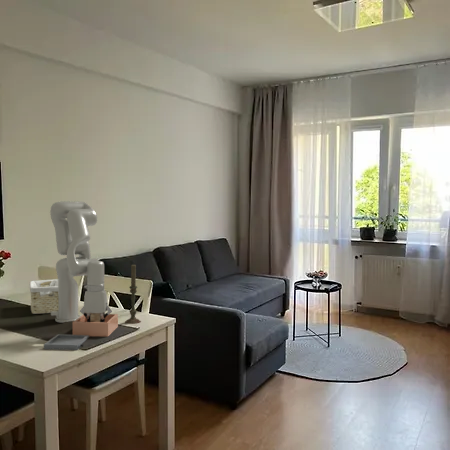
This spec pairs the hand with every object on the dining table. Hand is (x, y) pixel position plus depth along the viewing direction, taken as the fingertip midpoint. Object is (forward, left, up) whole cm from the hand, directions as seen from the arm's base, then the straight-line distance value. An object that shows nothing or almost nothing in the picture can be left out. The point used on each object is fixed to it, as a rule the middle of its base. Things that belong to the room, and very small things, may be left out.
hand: (96, 326), depth 217 cm
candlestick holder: (+13, +17, -3) cm, 22 cm away
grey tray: (-7, -17, -3) cm, 19 cm away
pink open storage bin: (0, 0, -3) cm, 3 cm away
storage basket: (-42, +42, -3) cm, 60 cm away
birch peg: (0, 0, -2) cm, 2 cm away
